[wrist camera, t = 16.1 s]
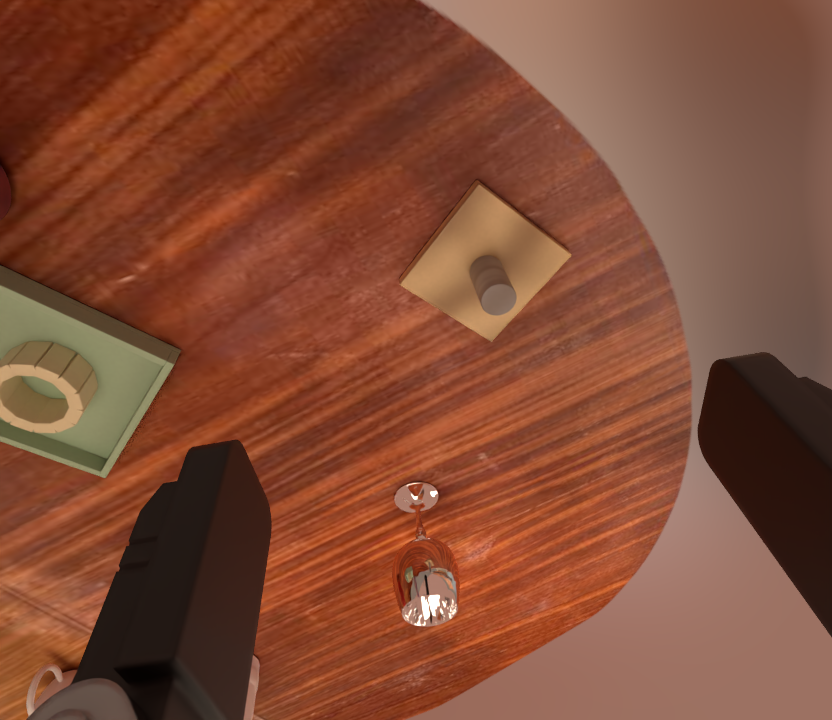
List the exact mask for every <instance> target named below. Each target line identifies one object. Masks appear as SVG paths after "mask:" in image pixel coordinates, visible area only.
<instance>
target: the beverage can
mask: <svg viewBox="0 0 832 720" xmlns="http://www.w3.org/2000/svg"><path fill="white" fill-rule="evenodd" d="M10 204H11V189H10V184H9V181H8V178H7V175H6V173H5V171H4V170H3V168H2V167H1V165H0V220H1V219H2V218H3V217H4V216H5V215H6V214H7V212H8V210H9V208H10Z"/></svg>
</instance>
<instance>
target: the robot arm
mask: <svg viewBox="0 0 832 720" xmlns="http://www.w3.org/2000/svg"><path fill="white" fill-rule="evenodd" d="M698 440H699V445H700V448H701V451H702V454H703V456H704V458H705V460H706V462H707V463H708V465H709V466H710V468H711V469H712V471H713V472H714V473H715V475H716V476H717V478H718V479H719V480H720V482H721V483H722V485H723V486H724V487H725V489H726V490H727V491H728V493H729V494H730V496H731V497H732V499H733V500H734V501H735V503H736V504H737V505H738V507H739V508H740V510H741V511H742V512H743V514H744V515H745V517H746V518H747V519H748V521H749V522H750V524H751V525H752V526H753V528H754V529H755V531H756V532H757V533H758V535H759V536H760V538H761V539H762V540H763V542H764V543H765V545H766V546H767V547H768V549H769V550H770V552H771V553H772V554H773V556H774V557H775V559H776V560H777V561H778V563H779V564H780V566H781V567H782V568H783V570H784V571H785V572H786V574H787V575H788V577H789V578H790V579H791V581H792V582H793V584H794V585H795V587H796V588H797V589H798V591H799V592H800V593H801V595H802V596H803V598H804V599H805V600H806V602H807V603H808V605H809V606H810V607H811V609H812V610H813V612H814V613H815V614H816V616H817V617H818V619H819V620H820V621H821V623H822V624H823V626H824V627H825V628H826V630H827V631H828V633H829V634H830V635H831V637H832V390H831V389H829V388H827V387H825V386H823V385H821V384H819V383H817V382H815V381H813V380H811V379H809V378H807V377H802V378H797V377H796V376H795V375H794V374H793V373H792V372H791V371H790V370H789V369H788V368H786V367H785V366H784V365H783V364H782V363H781V362H780V361H779V360H778V359H777V358H776V357H774V356H773V355H771V354H769V353H766V352H760V353H755V354H749V355H743V356H737V357H731V358H725V359H719V360H716V361H715V362H714V363H713V364H712V366H711V369H710V372H709V377H708V382H707V387H706V391H705V396H704V400H703V405H702V410H701V415H700V419H699V424H698ZM270 538H271V513H270V507H269V503H268V500H267V497H266V495H265V493H264V491H263V488H262V486H261V484H260V482H259V479H258V477H257V475H256V473H255V471H254V468H253V466H252V464H251V462H250V460H249V457H248V455H247V453H246V451H245V449H244V447H243V445H242V444H241V442H240V441H238V440H231V441H225V442H219V443H213V444H208V445H202V446H196V447H192V448H191V449H189V451H188V452H187V455H186V457H185V460H184V463H183V466H182V469H181V472H180V475H179V477H178V480H177V481H175V482H169V483H163V484H162V485H161V487H160V488H159V489H158V490H157V491H156V493H155V494H154V495H153V496H152V498H151V499H150V500H149V501H148V502H147V504H146V505H145V506H144V507H143V508H142V510H141V511H140V513H139V516H138V519H137V521H136V524H135V526H134V529H133V531H132V534H131V536H130V539H129V542H130V544H129V546H126V549H125V551H124V554H123V556H122V559H121V561H120V564H119V567H120V570H119V572H116V574H115V577H114V579H113V582H112V584H111V587H110V589H109V592H108V594H107V597H106V599H105V602H104V604H103V607H102V609H101V612H100V614H99V617H98V619H97V622H96V625H95V627H94V630H93V632H92V635H91V637H90V640H89V642H88V645H87V647H86V650H85V652H84V655H83V657H82V660H81V662H80V665H79V667H78V670H77V672H76V674H75V676H74V678H73V681H72V682H71V684H70V685H69V686H67V687H65V688H64V689H62V690H60V691H58V692H57V693H55V694H54V695H52V696H51V697H50V698H48V699H47V700H46V701H45V702H43V703H42V704H41V705H40V706H39V707H38V708H37V709H36V710H35V711H34V712H33V713H32V714H31V715H30V716H29V717H28V718H27V719H26V720H244V713H245V706H246V700H247V693H248V686H249V679H250V673H251V666H252V659H253V652H254V646H255V639H256V632H257V625H258V619H259V612H260V605H261V599H262V592H263V585H264V578H265V572H266V565H267V558H268V551H269V545H270Z"/></svg>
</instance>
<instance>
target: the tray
mask: <svg viewBox="0 0 832 720" xmlns="http://www.w3.org/2000/svg"><path fill="white" fill-rule="evenodd" d="M27 341H28V342H29V341H42V342H53V344H54V343H57V344H59V345H61V346H64V347H66V348H68V349H70V350H73V351H75V352H76V354H80V355H81V356H82V357H83V358H84V359H85V360H86V361H87V362H88V363H89V364H90V365H91V366H92V367H93V369H92V370H94V371H95V375H96V379H97V383H98V389H97V391H96V393H95V395H94V397H93V398H92V400H91V402H90V403H89V405H88V407H87V408H86V410H85V412H84V413H83V415H82V417H81V418H80V420H79V421H78V423H77V424H76V425H75V426H73V427H71V428H69V429H66V430H64V431H62V432H59V433H58V432H56V433H35V432H34V430H33V432H29V431H27V430H24V429H21V428H19V427H16V426H13V425H10V422H11V421H10V422H8V423H7V422H6V421H5V420H3V419H2V418H1V417H0V441H1V442H4V443H7V444H10V445H12V446H15V447H18V448H21V449H24V450H27V451H29V452H32V453H35V454H38V455H41V456H44V457H46V458H49V459H52V460H55V461H58V462H61V463H63V464H66V465H69V466H72V467H75V468H78V469H80V470H83V471H86V472H89V473H92V474H95V475H97V476H98V475H99V476H100V477H103V478H106V477H107V475H108V473H109V472H110V470H111V468H112V467H113V465H114V463H115V462H116V460H117V458H118V457H119V455H120V454H121V452H122V450H123V449H124V447H125V445H126V444H127V442H128V440H129V439H130V437H131V435H132V434H133V432H134V430H135V429H136V427H137V426H138V424H139V422H140V421H141V419H142V417H143V416H144V414H145V412H146V411H147V409H148V407H149V406H150V404H151V402H152V401H153V399H154V397H155V396H156V394H157V393H158V391H159V389H160V388H161V386H162V384H163V383H164V381H165V379H166V378H167V376H168V374H169V373H170V371H171V369H172V368H173V366H174V364H175V362H176V360H177V358H178V356H179V354H180V351H181V350H180V349H178V348H176V347H173V346H171V345H169V344H167V343H165V342H163V341H161V340H159V339H156V338H154V337H152V336H150V335H148V334H146V333H144V332H142V331H139V330H137V329H135V328H133V327H131V326H129V325H127V324H125V323H122V322H120V321H118V320H116V319H114V318H112V317H110V316H108V315H105V314H103V313H101V312H99V311H97V310H95V309H93V308H91V307H88V306H86V305H84V304H82V303H80V302H78V301H76V300H73V299H71V298H69V297H67V296H65V295H63V294H61V293H59V292H56V291H54V290H52V289H50V288H48V287H46V286H44V285H42V284H39V283H37V282H35V281H33V280H31V279H29V278H27V277H25V276H22V275H20V274H18V273H16V272H14V271H12V270H10V269H8V268H5V267H3V266H1V265H0V361H1V359H2V358H3V357H4V356H5V355H6V354H7V353H8V352H9V351H10V350H11V349H12V348H14V347H16V346H19V345H21V344H23V343H25V342H27ZM76 354H75V355H76ZM21 377H22V380H23V382H24V383H25V384H26V385H28V386H29V387H30V388H31V389H32V390H33V391H34V392H36V393H39V394H41V395H44V396H46V397H49V398H51V399H66V396H65V395H64V394H63V393H62V392H61V391H60V390H59V389H58V388H57V387H56V386H55V385H54V384H52V383H50V382H48V381H45V380H43V379H41V378H38V377H36V376H21Z"/></svg>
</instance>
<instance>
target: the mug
mask: <svg viewBox="0 0 832 720" xmlns="http://www.w3.org/2000/svg"><path fill="white" fill-rule="evenodd" d="M48 670H51V671H52V672H53V673H54V675H55V677H56V678H55V679H54V680H53V681H52V682H51V683H50V684H49V685H48V686H47V687H46V688H45V690H44V691H43V692H42V694H41V695H40V697H39V698H38V700H37V701H36V703H35V704H34V699H35V693H36V689H37V686H38V683H39V681H40V679H41V677H42V676H43V674H44V673H45V672H46V671H48ZM76 672H77V670H71V671H67V672H64V673H62V671H61V669H60V668H59V667H58V666H57V665H55V664H52V663H49V664H46V665H44V666H43V667H41V668H40V669H39V671H38V672H37V673H36V675H35V676H34V678H33V680H32V682H31V684H30V687H29V690H28V695H27V703H26V706H27V712H28V714H29V716H30V715H31V714H32V713H33V712H34V711H35V710H36V709H37V708H38V707H39V706H40V705H41V704H42V703H43V702H45V701H46V700H47V699H48V698H50V697H51V696H52V695H54V694H55V693H57V692H58V691H60V690H62V689H64V688H65V687H67V686H69V685H70V684H71V682H72V681H73V678H74V676H75V674H76ZM29 716H28V717H29Z"/></svg>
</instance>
